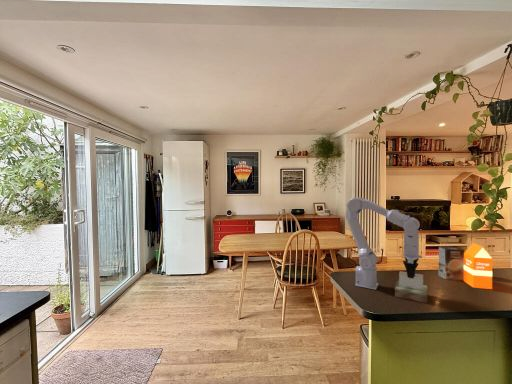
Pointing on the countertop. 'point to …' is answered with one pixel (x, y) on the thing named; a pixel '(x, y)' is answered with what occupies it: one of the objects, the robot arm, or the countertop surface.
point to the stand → (411, 293)
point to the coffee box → (451, 263)
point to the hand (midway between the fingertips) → (411, 275)
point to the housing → (411, 281)
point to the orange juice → (478, 267)
